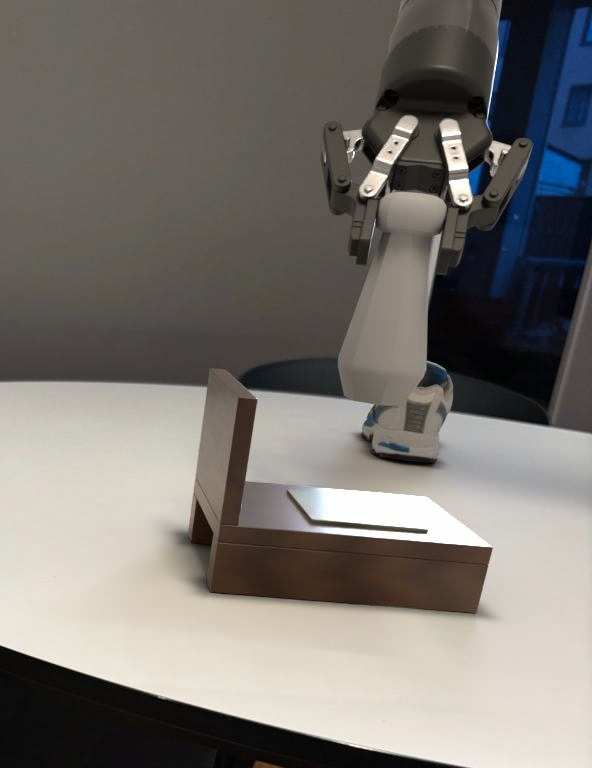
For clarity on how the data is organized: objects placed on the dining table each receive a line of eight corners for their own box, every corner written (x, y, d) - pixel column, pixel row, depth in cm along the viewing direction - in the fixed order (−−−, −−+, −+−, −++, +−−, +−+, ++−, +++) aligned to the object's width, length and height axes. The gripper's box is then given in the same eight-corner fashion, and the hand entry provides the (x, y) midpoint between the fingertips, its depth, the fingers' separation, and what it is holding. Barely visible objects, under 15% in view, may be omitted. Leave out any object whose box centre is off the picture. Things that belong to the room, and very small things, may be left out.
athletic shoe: (431, 432, 134) (428, 339, 129) (471, 472, 113) (470, 363, 108) (353, 441, 135) (348, 350, 131) (379, 483, 114) (374, 375, 110)
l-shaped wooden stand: (414, 553, 79) (450, 391, 75) (476, 613, 67) (524, 423, 63) (187, 535, 78) (209, 367, 73) (210, 592, 66) (238, 396, 61)
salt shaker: (327, 389, 72) (362, 190, 67) (407, 398, 72) (448, 199, 67) (339, 402, 67) (378, 187, 62) (426, 412, 66) (472, 196, 61)
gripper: (339, 15, 68) (293, 202, 62) (561, 29, 65) (537, 226, 59) (329, 112, 75) (287, 290, 69) (530, 129, 72) (505, 315, 66)
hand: (403, 259), depth 64 cm, fingers closed on salt shaker, 4 cm apart
